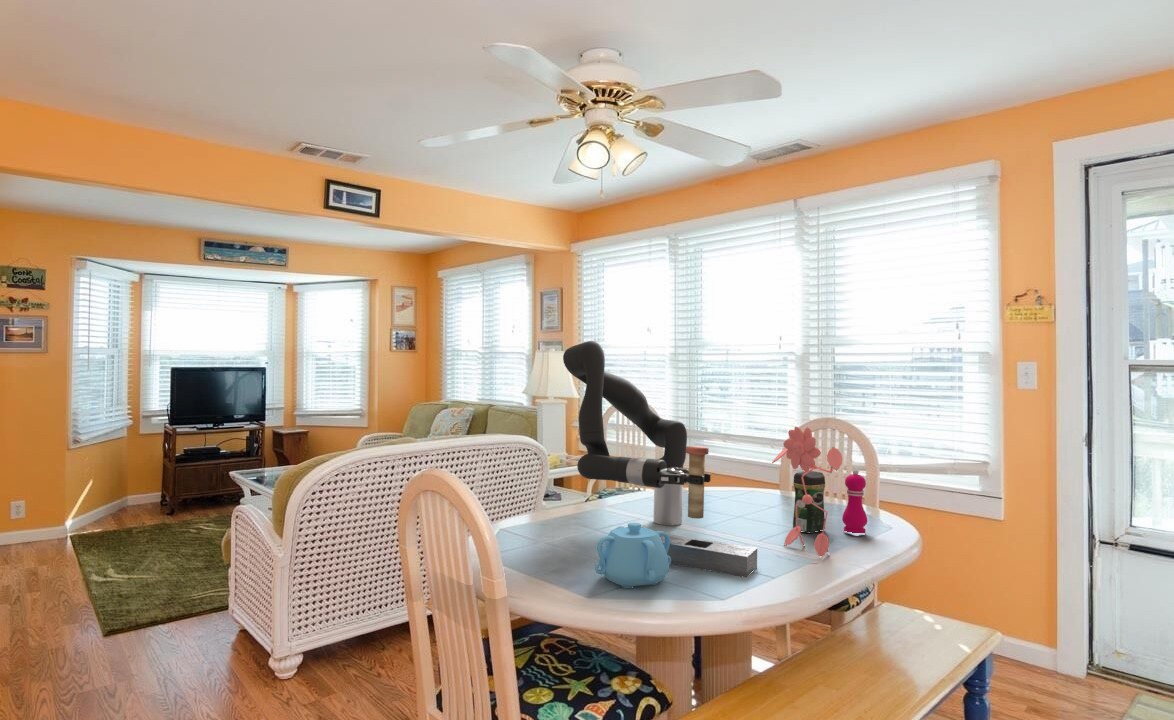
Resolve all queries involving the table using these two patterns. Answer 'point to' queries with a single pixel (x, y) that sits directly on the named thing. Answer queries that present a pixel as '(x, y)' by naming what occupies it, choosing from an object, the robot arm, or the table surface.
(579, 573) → the table surface
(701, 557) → the bar
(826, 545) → the figurine
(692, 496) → the oak pin
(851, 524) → the pepper mill
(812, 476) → the coffee jar
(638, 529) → the decorative pot
